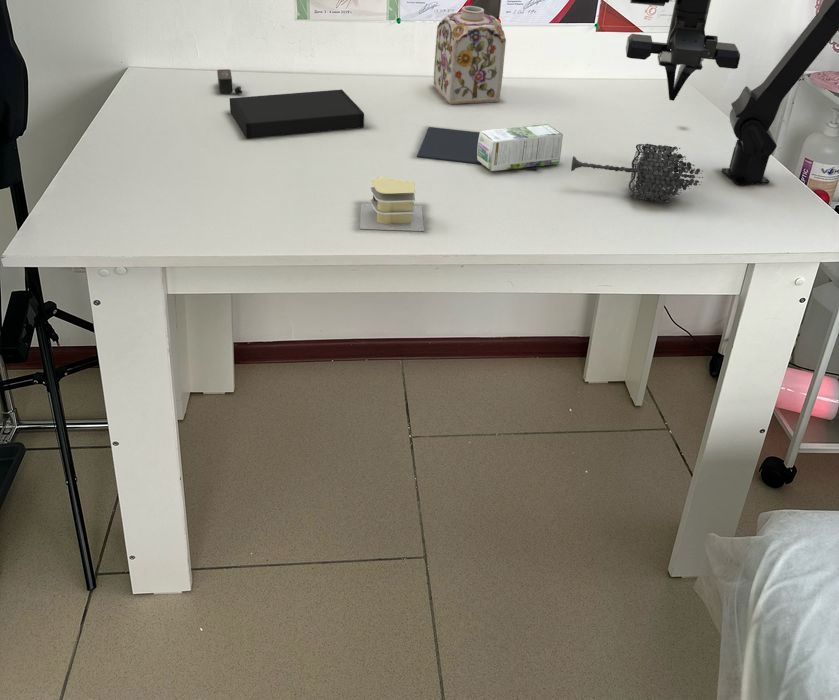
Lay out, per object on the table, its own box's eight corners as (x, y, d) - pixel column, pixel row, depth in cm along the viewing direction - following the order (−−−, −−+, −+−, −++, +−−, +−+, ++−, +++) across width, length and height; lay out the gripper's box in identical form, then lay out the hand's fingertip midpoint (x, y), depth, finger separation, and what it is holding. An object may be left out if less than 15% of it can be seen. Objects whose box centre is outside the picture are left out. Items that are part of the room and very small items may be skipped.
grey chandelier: (568, 178, 162) (576, 127, 157) (693, 191, 160) (705, 141, 155) (567, 200, 154) (575, 148, 149) (698, 214, 152) (711, 162, 147)
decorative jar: (432, 86, 199) (437, 1, 189) (481, 84, 202) (489, 0, 192) (449, 105, 190) (456, 17, 179) (501, 102, 193) (510, 15, 183)
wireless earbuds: (219, 96, 187) (218, 80, 185) (218, 84, 192) (217, 69, 191) (242, 95, 188) (241, 80, 186) (240, 84, 193) (239, 69, 192)
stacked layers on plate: (421, 206, 149) (423, 175, 146) (423, 231, 142) (425, 199, 139) (361, 204, 149) (361, 172, 146) (359, 229, 141) (360, 196, 138)
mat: (540, 140, 176) (540, 139, 176) (536, 170, 164) (536, 169, 164) (428, 128, 178) (428, 126, 178) (416, 157, 166) (416, 155, 166)
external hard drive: (230, 112, 179) (229, 97, 178) (341, 103, 187) (341, 89, 186) (246, 139, 169) (245, 123, 167) (364, 128, 177) (364, 113, 175)
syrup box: (544, 153, 171) (475, 162, 165) (548, 122, 167) (478, 130, 162) (560, 163, 166) (490, 173, 161) (564, 132, 163) (492, 141, 158)
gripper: (637, 15, 146) (619, 109, 155) (755, 26, 144) (730, 121, 153) (634, -1, 155) (618, 88, 164) (745, 9, 153) (722, 99, 162)
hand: (671, 99), depth 161 cm, fingers closed
